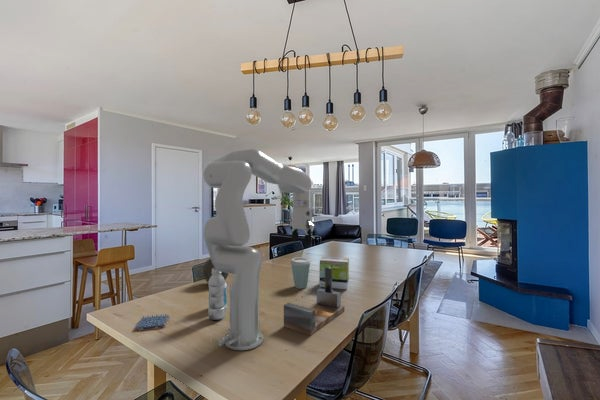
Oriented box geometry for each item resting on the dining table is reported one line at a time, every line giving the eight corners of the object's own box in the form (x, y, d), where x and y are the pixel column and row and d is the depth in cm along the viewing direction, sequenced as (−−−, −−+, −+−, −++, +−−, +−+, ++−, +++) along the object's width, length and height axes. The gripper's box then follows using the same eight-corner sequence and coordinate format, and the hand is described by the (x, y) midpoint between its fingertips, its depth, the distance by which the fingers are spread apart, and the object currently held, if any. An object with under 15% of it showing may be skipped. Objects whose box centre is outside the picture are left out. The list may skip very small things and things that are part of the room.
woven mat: (133, 333, 102) (133, 328, 102) (141, 321, 112) (141, 316, 112) (165, 330, 104) (165, 324, 104) (170, 318, 115) (170, 313, 115)
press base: (310, 335, 99) (310, 312, 99) (283, 326, 106) (283, 305, 106) (344, 311, 120) (344, 292, 120) (320, 304, 127) (320, 287, 127)
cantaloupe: (231, 286, 154) (231, 258, 154) (203, 289, 149) (203, 261, 148) (227, 279, 167) (227, 254, 167) (202, 282, 162) (202, 256, 162)
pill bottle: (208, 313, 118) (208, 280, 118) (209, 306, 126) (209, 275, 125) (227, 311, 120) (227, 279, 120) (226, 304, 128) (226, 274, 127)
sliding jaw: (337, 308, 117) (337, 270, 117) (316, 303, 123) (316, 267, 123) (340, 305, 119) (340, 268, 119) (320, 301, 125) (320, 265, 125)
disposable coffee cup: (314, 285, 155) (313, 258, 155) (304, 291, 145) (304, 262, 145) (297, 282, 160) (297, 256, 160) (286, 288, 151) (286, 259, 151)
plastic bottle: (218, 314, 117) (218, 265, 117) (228, 318, 113) (228, 268, 113) (204, 319, 112) (204, 268, 112) (214, 323, 108) (214, 271, 108)
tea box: (319, 287, 151) (319, 260, 151) (322, 282, 161) (322, 256, 161) (347, 289, 148) (347, 261, 148) (349, 284, 158) (348, 257, 157)
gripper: (320, 204, 122) (320, 244, 122) (297, 203, 136) (297, 239, 137) (306, 204, 118) (306, 246, 118) (283, 204, 132) (284, 240, 132)
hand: (301, 242), depth 127 cm, fingers open, 9 cm apart
